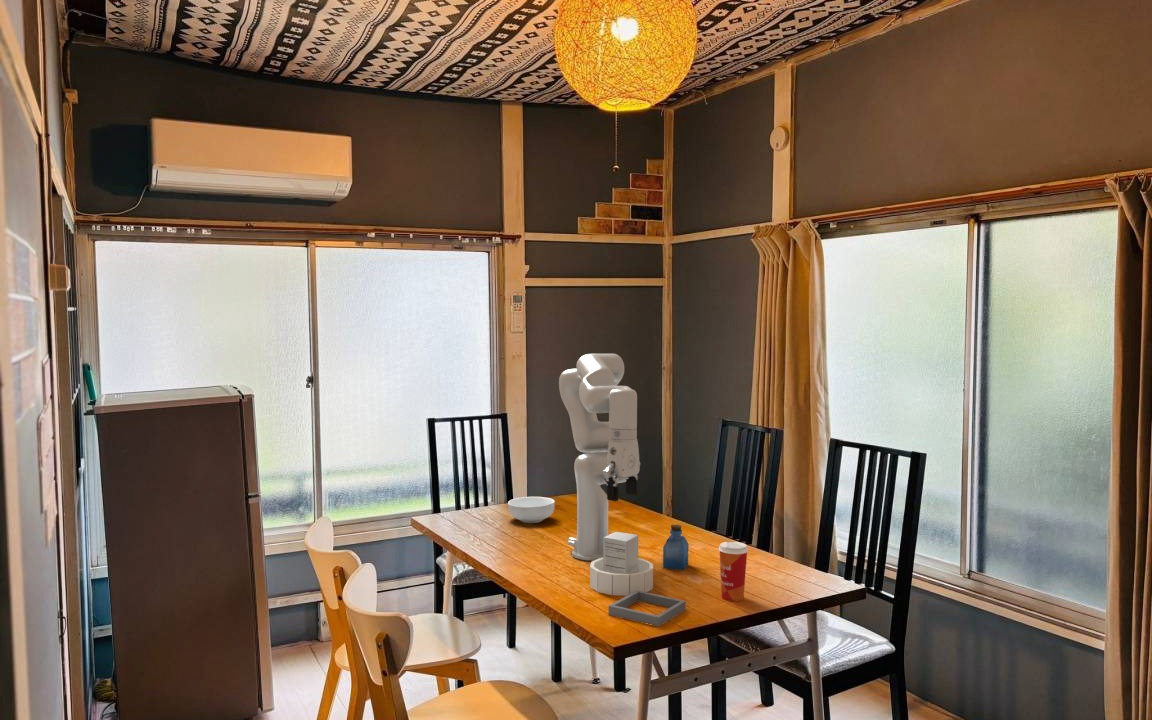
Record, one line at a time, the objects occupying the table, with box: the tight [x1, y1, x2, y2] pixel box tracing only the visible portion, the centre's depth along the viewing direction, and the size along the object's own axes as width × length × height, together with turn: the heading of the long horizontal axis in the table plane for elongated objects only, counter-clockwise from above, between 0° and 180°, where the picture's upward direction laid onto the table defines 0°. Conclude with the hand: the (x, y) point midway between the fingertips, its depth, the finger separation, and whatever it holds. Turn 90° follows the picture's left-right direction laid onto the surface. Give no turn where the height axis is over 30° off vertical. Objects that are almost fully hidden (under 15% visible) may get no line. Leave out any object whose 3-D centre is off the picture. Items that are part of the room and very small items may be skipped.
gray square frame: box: [608, 590, 687, 627], centre depth 205 cm, size 14×14×2 cm
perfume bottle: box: [662, 524, 689, 571], centre depth 243 cm, size 6×6×12 cm
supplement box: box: [603, 531, 639, 574], centre depth 225 cm, size 7×7×13 cm
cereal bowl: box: [507, 496, 556, 524], centre depth 297 cm, size 17×17×7 cm
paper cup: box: [718, 541, 749, 602], centre depth 216 cm, size 8×8×14 cm
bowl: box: [589, 557, 654, 597], centre depth 226 cm, size 17×17×6 cm
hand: (622, 497), depth 225 cm, fingers open, 9 cm apart
